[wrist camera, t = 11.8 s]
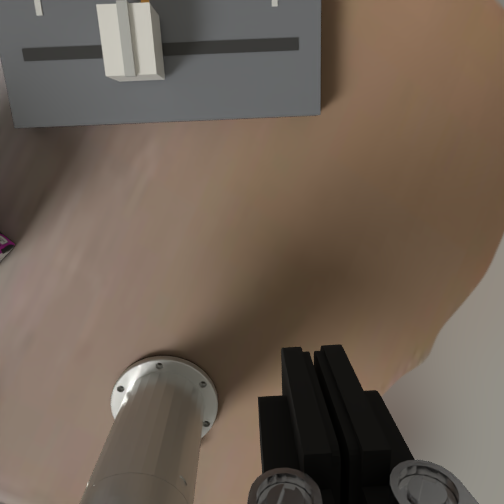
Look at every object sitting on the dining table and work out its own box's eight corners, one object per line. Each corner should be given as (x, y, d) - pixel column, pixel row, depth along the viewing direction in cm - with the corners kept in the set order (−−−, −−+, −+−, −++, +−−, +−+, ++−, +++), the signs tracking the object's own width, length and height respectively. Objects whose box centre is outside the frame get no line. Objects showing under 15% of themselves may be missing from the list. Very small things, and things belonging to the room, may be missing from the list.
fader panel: (314, 115, 41) (320, 114, 38) (30, 128, 41) (13, 128, 38) (314, -24, 38) (321, -36, 35) (4, -12, 37) (-17, -24, 34)
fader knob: (165, 80, 36) (155, 74, 32) (119, 82, 36) (104, 76, 32) (158, 14, 35) (148, -1, 31) (111, 16, 35) (93, 1, 31)
